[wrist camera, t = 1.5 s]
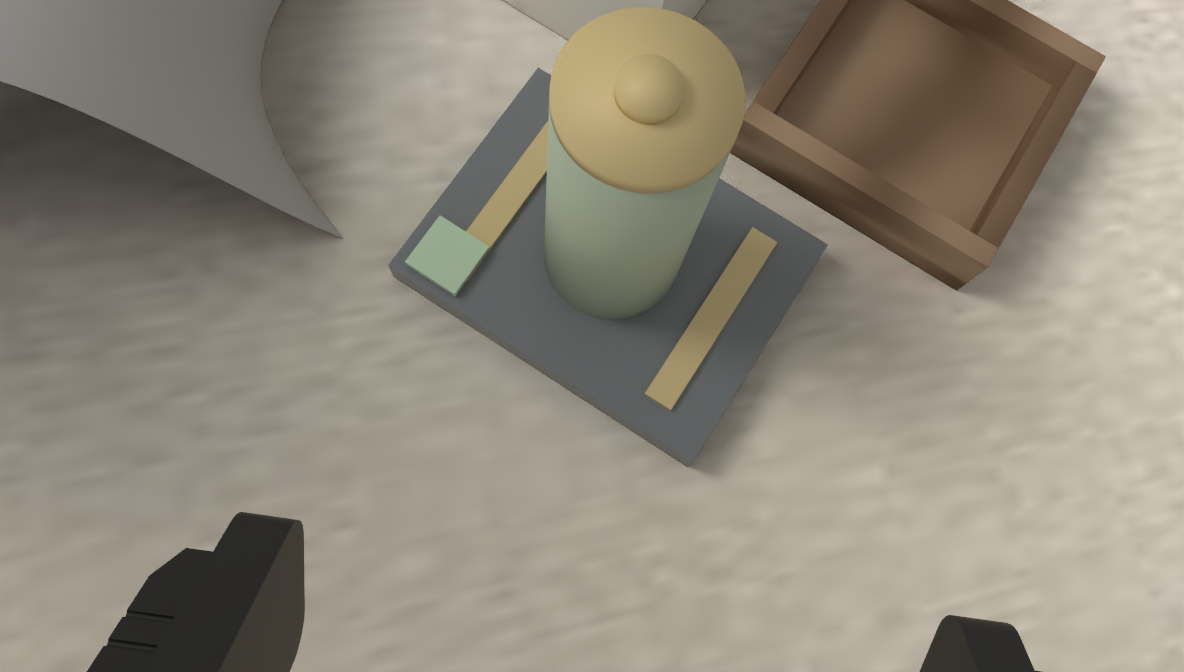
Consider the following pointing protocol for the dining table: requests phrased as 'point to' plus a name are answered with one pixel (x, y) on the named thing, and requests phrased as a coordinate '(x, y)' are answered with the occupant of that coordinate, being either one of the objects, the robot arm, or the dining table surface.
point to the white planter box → (592, 11)
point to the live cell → (634, 154)
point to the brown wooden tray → (919, 121)
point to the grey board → (594, 345)
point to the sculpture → (163, 81)
